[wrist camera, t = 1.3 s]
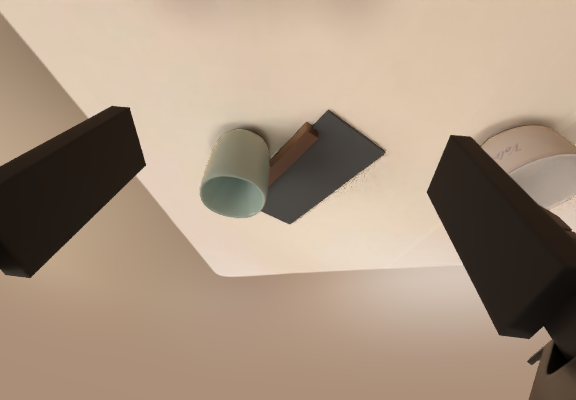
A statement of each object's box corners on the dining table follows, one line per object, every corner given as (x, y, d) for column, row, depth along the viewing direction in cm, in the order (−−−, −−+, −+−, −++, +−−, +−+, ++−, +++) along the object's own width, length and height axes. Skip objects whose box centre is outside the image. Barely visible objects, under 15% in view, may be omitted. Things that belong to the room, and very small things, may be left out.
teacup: (486, 111, 34) (518, 155, 29) (579, 113, 34) (629, 158, 28) (438, 189, 45) (456, 231, 39) (509, 191, 44) (535, 234, 39)
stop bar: (244, 187, 46) (242, 196, 45) (306, 121, 36) (306, 130, 35) (254, 193, 47) (253, 201, 46) (318, 129, 37) (318, 138, 36)
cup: (265, 169, 43) (258, 223, 36) (213, 157, 41) (196, 211, 35) (279, 128, 37) (273, 184, 31) (219, 112, 36) (200, 167, 29)
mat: (240, 199, 49) (240, 201, 48) (328, 109, 35) (328, 111, 34) (289, 222, 53) (289, 224, 53) (384, 150, 39) (385, 153, 39)
